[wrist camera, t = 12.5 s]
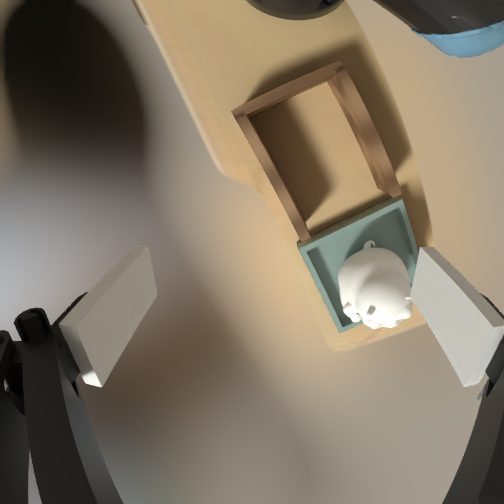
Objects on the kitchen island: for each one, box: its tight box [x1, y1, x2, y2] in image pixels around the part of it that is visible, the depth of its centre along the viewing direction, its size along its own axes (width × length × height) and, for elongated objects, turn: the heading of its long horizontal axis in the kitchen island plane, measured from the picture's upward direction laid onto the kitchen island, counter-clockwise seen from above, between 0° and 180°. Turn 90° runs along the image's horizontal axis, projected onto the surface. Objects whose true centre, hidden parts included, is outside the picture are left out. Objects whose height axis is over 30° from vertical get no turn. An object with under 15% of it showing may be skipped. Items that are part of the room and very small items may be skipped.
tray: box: [297, 196, 419, 333], centre depth 41 cm, size 16×16×2 cm
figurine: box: [338, 240, 413, 329], centre depth 36 cm, size 10×10×12 cm
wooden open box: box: [231, 60, 402, 242], centre depth 34 cm, size 17×14×6 cm
